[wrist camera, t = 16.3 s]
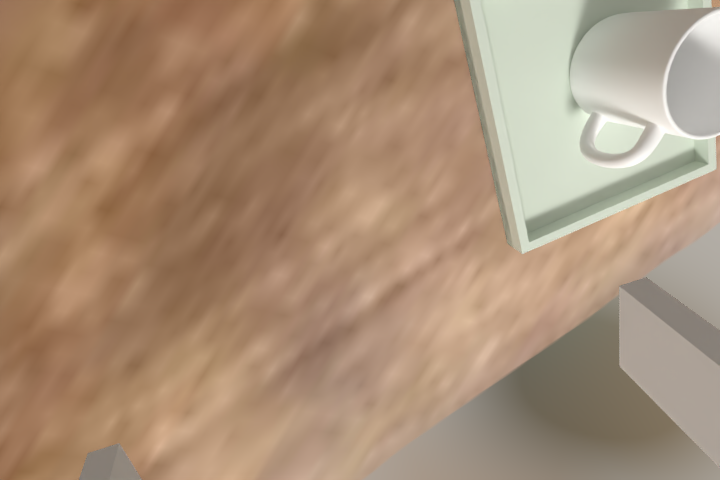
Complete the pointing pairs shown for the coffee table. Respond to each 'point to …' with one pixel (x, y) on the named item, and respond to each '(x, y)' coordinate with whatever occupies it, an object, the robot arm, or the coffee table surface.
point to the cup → (649, 79)
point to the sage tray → (559, 119)
